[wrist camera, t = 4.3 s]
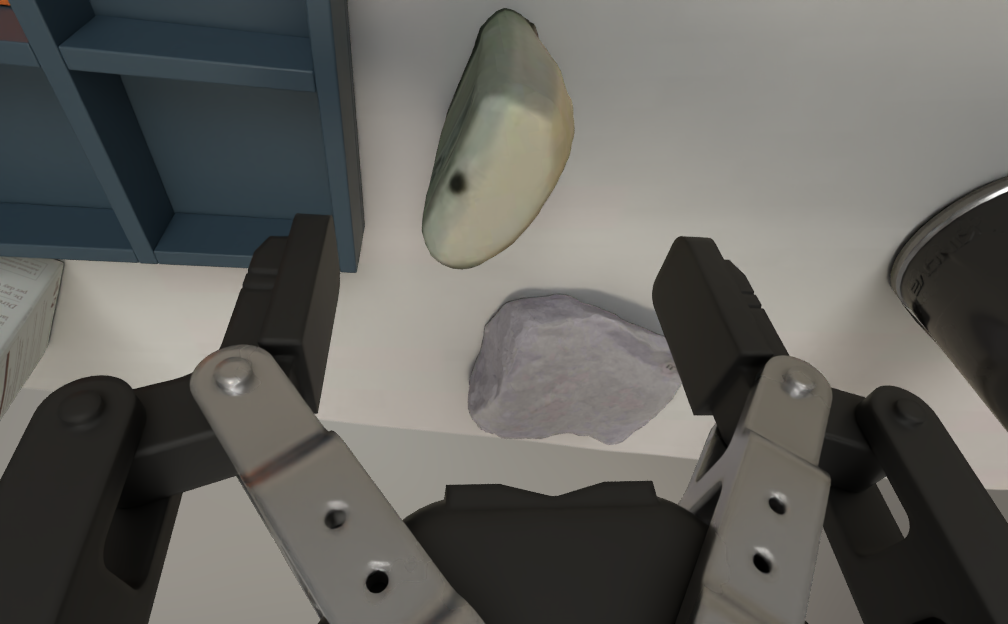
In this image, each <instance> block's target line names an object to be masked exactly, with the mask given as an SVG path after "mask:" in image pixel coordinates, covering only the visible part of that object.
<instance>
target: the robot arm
mask: <svg viewBox="0 0 1008 624" xmlns="http://www.w3.org/2000/svg"><path fill="white" fill-rule="evenodd" d="M890 283H891V287H892V289H893V291H894V293H895V294H896V295H897V296H898V298H899V299H900V300H901V302H902V303H903V304H904V305H905V306H907V307H908V308H910V309H911V310H912V312H913V313H914V314H915V315H916V317H917V318H918V319H919V321H920V322H921V323H922V324H923V325H922V324H921V323H920V322H919V321H918V320H917V319H916V318H915V317H914V316H913V315H912V314H911V312H910V311H909V310H908V309H907V308H906V307H905V306H904V305H903V306H904V307H905V308H906V309H907V311H908V312H909V313H910V314H911V316H912V317H913V318H914V320H915V321H916V322H917V323H918V324H919V325H920V326H921V327H922V328H923V329H924V330H925V332H926V333H927V334H928V335H929V336H930V337H931V338H932V339H933V338H934V339H933V340H934V341H935V342H936V343H937V344H938V345H939V347H940V348H941V349H942V350H943V352H944V353H945V354H946V355H947V357H948V358H949V359H950V360H951V362H952V363H953V364H954V365H955V367H956V368H957V369H958V370H959V372H960V373H961V374H962V375H963V377H964V378H965V379H966V380H967V382H968V383H969V384H970V385H971V387H972V388H973V389H974V390H975V392H976V393H977V394H978V396H979V397H980V398H981V399H982V401H983V402H984V403H985V404H986V406H987V407H988V408H989V409H990V411H991V412H992V413H993V414H994V416H995V417H996V418H997V419H998V421H999V422H1000V423H1001V424H1002V426H1003V427H1004V428H1005V429H1006V431H1007V432H1008V176H1007V177H1004V178H1002V179H999V180H997V181H994V182H992V183H990V184H988V185H985V186H983V187H981V188H979V189H977V190H975V191H973V192H972V193H970V194H968V195H966V196H964V197H963V198H961V199H959V200H958V201H956V202H954V203H953V204H951V205H950V206H948V207H947V208H945V209H944V210H943V211H941V212H940V213H939V214H937V215H936V216H935V217H933V218H932V219H931V220H930V221H928V222H927V223H926V224H925V225H924V226H923V227H922V228H921V229H919V230H918V231H917V232H916V233H915V234H914V236H913V237H912V238H911V239H910V240H909V241H908V242H907V243H906V245H905V246H904V247H903V249H902V250H901V251H900V253H899V255H898V256H897V258H896V260H895V262H894V264H893V267H892V270H891V275H890ZM339 287H340V267H339V258H338V250H337V242H336V234H335V227H334V220H333V217H332V215H319V214H301V213H296V214H295V216H294V219H293V222H292V226H291V229H290V233H289V236H288V237H287V236H269V237H268V238H267V239H266V240H265V241H264V242H263V243H262V244H261V245H260V246H259V247H258V248H257V249H256V250H255V251H254V253H253V256H252V259H251V262H250V265H249V268H248V274H246V276H245V279H244V282H243V288H242V289H241V291H240V293H239V296H238V299H237V302H236V305H235V308H234V311H233V313H232V316H231V319H230V322H229V325H228V328H227V331H226V333H225V336H224V339H223V342H222V344H221V347H220V349H219V350H217V351H215V352H213V353H211V354H210V355H208V356H207V357H206V358H204V359H203V360H202V361H201V362H200V363H199V364H198V365H197V367H196V368H195V370H194V371H193V372H192V373H191V374H188V375H186V376H183V377H180V378H177V379H174V380H169V381H165V382H161V383H157V384H153V385H149V386H145V387H140V388H136V389H132V388H131V386H130V385H129V384H128V383H127V382H125V381H123V380H122V379H119V378H116V377H112V376H103V375H99V376H90V377H85V378H81V379H78V380H75V381H73V382H70V383H68V384H66V385H64V386H62V387H60V388H59V389H57V390H56V391H54V392H53V393H51V394H50V395H49V396H48V397H47V398H46V399H45V400H43V402H42V403H41V404H40V405H39V406H38V408H37V409H36V411H35V413H34V414H33V416H32V418H31V420H30V422H29V424H28V426H27V428H26V430H25V432H24V434H23V436H22V438H21V440H20V442H19V444H18V446H17V448H16V450H15V452H14V454H13V456H12V458H11V460H10V462H9V464H8V466H7V468H6V470H5V472H4V474H3V476H2V478H1V479H0V624H148V622H149V618H150V614H151V610H152V607H153V603H154V599H155V595H156V592H157V588H158V584H159V580H160V576H161V573H162V569H163V565H164V561H165V558H166V554H167V550H168V546H169V542H170V538H171V535H172V531H173V527H174V523H175V520H176V516H177V512H178V508H179V505H180V501H181V497H182V493H183V492H185V491H189V490H192V489H195V488H198V487H201V486H205V485H208V484H211V483H214V482H218V481H221V480H224V479H227V478H230V477H234V476H236V477H237V478H238V480H239V482H240V483H241V485H242V487H243V488H244V490H245V492H246V493H247V495H248V497H249V499H250V500H251V502H252V504H253V505H254V507H255V509H256V510H257V512H258V514H259V515H260V517H261V519H262V521H263V522H264V524H265V526H266V527H267V529H268V530H269V532H270V534H271V536H272V538H273V539H274V541H275V543H276V544H277V546H278V548H279V549H280V551H281V553H282V555H283V557H284V558H285V560H286V562H287V564H288V566H289V567H290V569H291V571H292V572H293V574H294V576H295V578H296V579H297V581H298V582H299V584H300V586H301V588H302V589H303V591H304V593H305V595H306V596H307V598H308V599H309V601H310V603H311V605H312V606H313V608H314V610H315V611H316V613H317V615H318V616H319V618H320V621H319V623H318V624H808V623H807V622H806V621H805V617H806V612H807V607H808V602H809V596H810V591H811V586H812V581H813V575H814V570H815V565H816V559H817V554H818V549H819V544H820V538H821V533H822V528H824V530H825V533H826V535H827V537H828V540H829V542H830V544H831V547H832V549H833V552H834V554H835V556H836V559H837V561H838V563H839V566H840V568H841V571H842V573H843V575H844V578H845V580H846V583H847V585H848V587H849V590H850V592H851V594H852V597H853V599H854V601H855V604H856V606H857V608H858V611H859V613H860V616H861V618H862V620H863V623H864V624H1008V523H1007V522H1006V520H1005V519H1004V517H1003V515H1002V514H1001V512H1000V511H999V509H998V508H997V506H996V505H995V503H994V502H993V500H992V499H991V497H990V496H989V494H988V493H987V491H986V489H985V488H984V486H983V485H982V483H981V482H980V480H979V479H978V477H977V476H976V474H975V473H974V471H973V470H972V468H971V467H970V465H969V464H968V462H967V460H966V459H965V457H964V456H963V454H962V453H961V451H960V450H959V448H958V447H957V445H956V444H955V442H954V441H953V439H952V438H951V436H950V435H949V433H948V432H947V430H946V429H945V427H944V425H943V424H942V422H941V421H940V419H939V418H938V416H937V415H936V414H935V412H934V411H933V410H932V409H931V408H930V407H929V405H927V404H926V403H925V402H924V401H923V400H922V399H920V398H919V397H917V396H916V395H914V394H913V393H911V392H909V391H907V390H904V389H902V388H899V387H895V386H880V387H878V388H876V389H875V390H874V391H873V392H872V393H870V394H869V395H868V396H867V397H866V398H865V397H861V396H858V395H855V394H851V393H848V392H844V391H841V390H838V389H834V388H831V387H830V385H829V383H828V381H827V380H826V379H825V377H824V376H823V375H822V374H821V373H820V372H819V371H818V370H817V369H816V368H815V367H813V366H812V365H810V364H809V363H807V362H805V361H803V360H801V359H799V358H795V357H792V356H789V354H788V352H787V350H786V349H785V347H784V345H783V343H782V341H781V339H780V338H779V336H778V334H777V332H776V330H775V329H774V327H773V325H772V323H771V321H770V320H769V318H768V316H767V314H766V312H765V310H764V309H761V303H760V301H759V300H758V298H757V296H756V295H754V291H753V289H752V287H751V285H750V283H749V281H748V280H747V278H746V276H745V275H744V274H743V273H742V272H741V271H740V270H739V269H738V268H737V267H736V266H735V265H734V264H733V263H732V262H731V261H730V260H724V259H723V257H722V255H721V253H720V251H719V249H718V247H717V246H716V244H715V242H714V241H713V240H712V239H711V238H703V237H685V236H680V237H678V238H677V239H676V240H675V241H674V243H673V244H672V246H671V248H670V251H669V253H668V255H667V257H666V259H665V261H664V263H663V265H662V267H661V269H660V271H659V273H658V275H657V277H656V279H655V282H654V285H653V291H652V300H653V305H654V308H655V311H656V314H657V316H658V319H659V322H660V324H661V327H662V330H663V333H664V335H665V338H666V341H667V344H668V346H669V349H670V352H671V354H672V357H673V360H674V363H675V365H676V368H677V371H678V374H679V376H680V379H681V382H682V384H683V387H684V390H685V393H686V395H687V398H688V401H689V404H690V406H691V409H692V412H693V414H694V415H713V416H714V419H715V421H716V424H715V425H714V426H713V427H712V429H711V431H710V433H709V435H708V438H707V440H706V443H705V445H704V448H703V450H702V453H701V455H700V458H699V460H698V463H697V465H696V467H695V470H694V472H693V475H692V477H691V480H690V482H689V485H688V487H687V489H686V491H685V493H684V495H683V497H682V498H681V500H680V501H679V503H678V504H675V503H673V502H671V501H668V500H665V499H663V498H660V497H657V496H656V492H655V489H654V485H653V482H652V481H620V482H602V483H599V484H595V485H592V486H589V487H586V488H582V489H579V490H576V491H573V492H569V493H566V494H563V495H559V496H548V495H544V494H540V493H536V492H531V491H527V490H523V489H518V488H514V487H510V486H506V485H502V484H471V485H446V490H445V497H444V500H441V501H438V502H434V503H432V504H429V505H427V506H425V507H423V508H421V509H419V510H417V511H415V512H414V513H412V514H410V515H409V516H407V517H406V518H405V519H403V520H402V519H401V518H400V517H399V515H398V514H397V512H396V511H395V510H394V508H393V507H392V506H391V504H390V503H389V502H388V500H387V499H386V498H385V496H384V495H383V494H382V492H381V491H380V489H379V488H378V487H377V486H376V484H375V483H374V481H373V480H372V479H371V477H370V476H369V475H368V473H367V472H366V471H365V469H364V468H363V466H362V465H361V464H360V462H359V461H358V460H357V458H356V457H355V456H354V455H353V453H352V452H351V451H350V449H349V448H348V446H347V445H346V444H345V442H344V441H343V440H342V439H341V437H340V436H339V435H338V434H337V433H336V432H334V431H327V430H326V429H325V428H324V427H323V425H322V424H321V423H320V421H319V420H318V418H317V417H316V416H315V414H318V409H319V403H320V398H321V392H322V386H323V381H324V375H325V369H326V364H327V358H328V352H329V347H330V341H331V335H332V329H333V324H334V318H335V312H336V307H337V301H338V295H339ZM924 327H925V328H926V329H927V330H926V329H925V328H924ZM929 333H930V334H931V335H930V334H929ZM886 476H887V478H888V480H889V481H890V483H891V485H892V487H893V489H894V491H895V493H896V495H897V496H898V498H899V500H900V502H901V504H902V506H903V507H904V509H905V511H906V513H907V515H908V518H909V523H910V529H909V533H908V535H907V537H906V538H905V539H904V537H903V535H902V533H901V531H900V529H899V527H898V525H897V523H896V521H895V520H894V518H893V516H892V514H891V512H890V510H889V508H888V506H887V504H886V502H885V500H884V498H883V496H882V495H881V492H880V490H879V489H878V487H877V485H876V483H877V482H878V481H880V480H881V479H883V478H884V477H886Z"/></svg>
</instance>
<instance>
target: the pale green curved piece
mask: <svg viewBox="0 0 1008 624" xmlns="http://www.w3.org/2000/svg"><path fill="white" fill-rule="evenodd" d="M573 138H574V118H573V105H572V101H571V98H570V97H569V95H568V93H567V91H566V88H565V84H564V81H563V77H562V74H561V71H560V69H559V67H558V65H557V64H556V62H555V61H554V60H553V58H552V57H551V55H550V54H549V52H548V51H547V49H546V48H545V46H544V45H543V44H542V43H541V41H540V40H539V38H538V33H537V30H536V27H535V25H534V24H533V23H531V22H529V20H527V19H526V18H524V17H523V16H522V15H521V14H519V13H517V12H516V11H514V10H511V9H507V8H503V9H501V10H499V11H496V12H495V13H494V14H493V15H492V16H491V17H489V18H488V20H487V21H486V22H485V23H484V24H483V25H482V26H481V28H480V30H479V33H478V36H477V39H476V42H475V46H474V48H473V51H472V54H471V56H470V58H469V61H468V63H467V66H466V68H465V70H464V72H463V75H462V78H461V80H460V82H459V84H458V87H457V89H456V92H455V94H454V97H453V100H452V102H451V105H450V107H449V109H448V112H447V116H446V120H445V123H444V126H443V129H442V132H441V136H440V140H439V145H438V149H437V153H436V158H435V163H434V167H433V172H432V176H431V180H430V185H429V188H428V192H427V195H426V201H425V207H424V212H423V219H422V233H423V236H424V240H425V244H426V246H427V248H428V250H429V252H430V255H431V256H432V257H433V258H434V259H436V260H437V261H438V262H440V263H441V264H443V265H445V266H447V267H450V268H453V269H468V268H473V267H475V266H478V265H480V264H482V263H484V262H485V261H487V260H488V259H490V258H492V257H494V256H496V255H497V254H499V253H500V252H502V251H503V250H505V249H506V248H508V247H509V246H510V245H512V244H513V243H514V242H515V241H516V239H517V238H518V237H519V236H520V235H521V234H522V233H523V232H524V231H525V230H526V229H527V227H528V226H529V225H530V224H531V223H532V222H533V220H534V219H535V218H536V216H537V215H538V214H539V212H540V210H541V208H542V206H543V205H544V203H545V202H546V200H547V199H548V197H549V196H550V194H551V192H552V191H553V189H554V188H555V186H556V184H557V182H558V179H559V177H560V175H561V173H562V172H563V170H564V167H565V165H566V162H567V160H568V158H569V155H570V151H571V145H572V140H573Z"/></svg>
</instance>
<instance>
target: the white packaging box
mask: <svg viewBox="0 0 1008 624" xmlns="http://www.w3.org/2000/svg"><path fill="white" fill-rule="evenodd" d="M62 271H63V263H62V262H60V261H57V260H54V259H44V258H23V257H1V256H0V421H1V419H2V417H3V416H4V414H5V413H6V411H7V410H8V408H9V406H10V405H11V403H12V402H13V400H14V399H15V397H16V396H17V394H18V393H19V391H20V390H21V388H22V387H23V385H24V384H25V382H26V381H27V379H28V378H29V376H30V375H31V373H32V371H33V370H34V368H35V367H36V365H37V364H38V362H39V361H40V359H41V357H42V356H43V354H44V352H45V351H46V349H47V347H48V341H49V335H50V331H51V325H52V321H53V315H54V311H55V306H56V301H57V296H58V291H59V286H60V281H61V275H62Z"/></svg>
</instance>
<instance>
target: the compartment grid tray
mask: <svg viewBox="0 0 1008 624" xmlns="http://www.w3.org/2000/svg"><path fill="white" fill-rule="evenodd" d="M296 213H301V214H319V215H332V217H333V220H334V227H335V234H336V242H337V250H338V258H339V267H340V271H341V272H347V273H356V272H357V269H358V263H359V257H360V251H361V245H362V239H363V233H364V227H365V226H364V213H363V200H362V187H361V174H360V161H359V148H358V135H357V122H356V109H355V96H354V83H353V70H352V57H351V44H350V31H349V18H348V5H347V0H0V256H1V257H23V258H44V259H66V260H88V261H109V262H131V263H138V262H140V263H146V264H158V263H159V264H169V265H191V266H213V267H234V268H249V265H250V262H251V259H252V256H253V253H254V251H255V250H256V249H257V248H258V247H259V246H260V245H261V244H262V243H263V242H264V241H265V240H266V239H267V238H268V237H269V236H287V237H288V236H289V233H290V229H291V226H292V222H293V219H294V216H295V214H296Z"/></svg>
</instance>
